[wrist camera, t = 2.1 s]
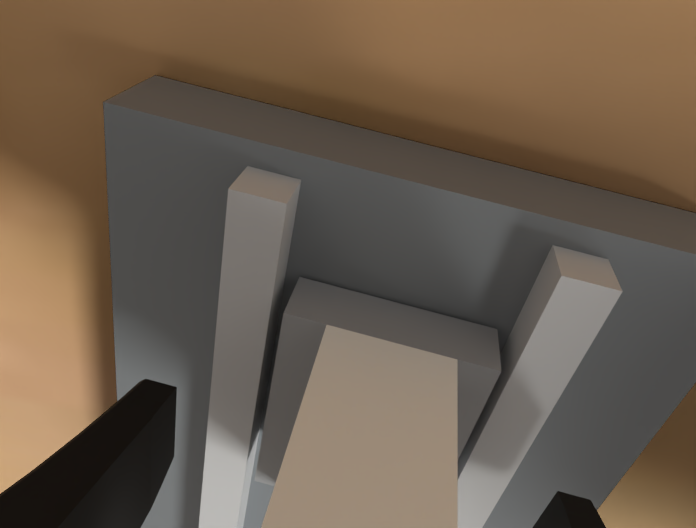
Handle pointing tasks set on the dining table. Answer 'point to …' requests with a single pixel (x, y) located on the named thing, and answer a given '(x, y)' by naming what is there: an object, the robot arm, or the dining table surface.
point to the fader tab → (370, 411)
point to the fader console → (385, 292)
